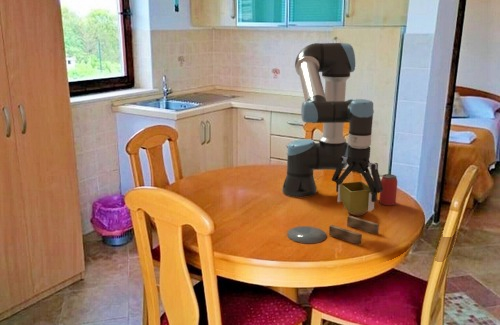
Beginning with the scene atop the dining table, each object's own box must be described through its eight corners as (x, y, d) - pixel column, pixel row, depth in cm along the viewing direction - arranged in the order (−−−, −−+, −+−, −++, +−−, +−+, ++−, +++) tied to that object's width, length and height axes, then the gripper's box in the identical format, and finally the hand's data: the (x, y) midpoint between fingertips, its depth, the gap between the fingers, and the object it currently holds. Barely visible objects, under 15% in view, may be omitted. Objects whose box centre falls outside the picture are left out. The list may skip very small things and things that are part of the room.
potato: (362, 206, 203) (363, 188, 201) (373, 219, 190) (374, 200, 187) (338, 207, 202) (339, 189, 200) (348, 220, 189) (349, 201, 187)
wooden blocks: (329, 235, 176) (329, 226, 175) (349, 224, 185) (349, 215, 184) (358, 245, 168) (359, 235, 167) (378, 233, 178) (378, 224, 177)
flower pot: (372, 213, 172) (374, 189, 169) (349, 216, 170) (351, 191, 167) (360, 204, 180) (361, 181, 177) (338, 207, 178) (339, 183, 175)
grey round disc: (278, 235, 175) (278, 234, 175) (302, 224, 185) (302, 223, 185) (311, 247, 166) (311, 246, 166) (334, 234, 176) (334, 233, 176)
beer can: (396, 206, 203) (398, 178, 200) (379, 205, 204) (381, 177, 201) (394, 201, 209) (397, 174, 206) (378, 200, 211) (380, 173, 207)
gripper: (323, 141, 173) (320, 199, 179) (386, 154, 158) (380, 217, 164) (335, 137, 178) (332, 194, 185) (397, 149, 163) (391, 211, 169)
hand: (355, 205), depth 174 cm, fingers closed on flower pot, 12 cm apart
